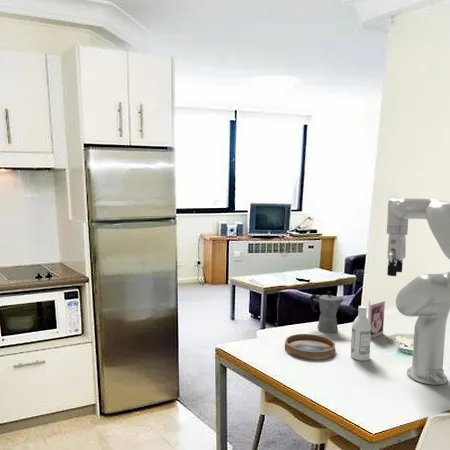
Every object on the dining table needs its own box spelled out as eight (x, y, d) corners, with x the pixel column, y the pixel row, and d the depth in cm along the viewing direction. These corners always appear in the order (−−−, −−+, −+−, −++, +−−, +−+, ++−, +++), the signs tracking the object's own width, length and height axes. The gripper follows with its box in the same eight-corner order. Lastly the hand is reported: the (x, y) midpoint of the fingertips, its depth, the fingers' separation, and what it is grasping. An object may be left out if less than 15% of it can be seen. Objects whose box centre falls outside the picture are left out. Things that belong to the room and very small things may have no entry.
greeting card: (370, 339, 181) (372, 305, 180) (355, 334, 187) (357, 301, 185) (384, 334, 188) (386, 301, 187) (369, 329, 194) (371, 297, 193)
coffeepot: (343, 328, 195) (345, 290, 193) (340, 335, 186) (342, 295, 184) (310, 323, 201) (311, 286, 199) (306, 329, 192) (307, 291, 190)
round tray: (343, 359, 160) (344, 351, 160) (292, 360, 158) (292, 353, 157) (324, 339, 180) (325, 333, 180) (279, 341, 177) (279, 334, 177)
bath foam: (372, 357, 162) (375, 306, 160) (364, 362, 157) (367, 310, 155) (355, 352, 167) (358, 303, 165) (347, 357, 162) (349, 306, 160)
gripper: (402, 232, 154) (400, 278, 155) (411, 229, 168) (409, 271, 170) (381, 231, 158) (379, 276, 160) (392, 228, 172) (390, 269, 174)
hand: (394, 273), depth 165 cm, fingers open, 9 cm apart
